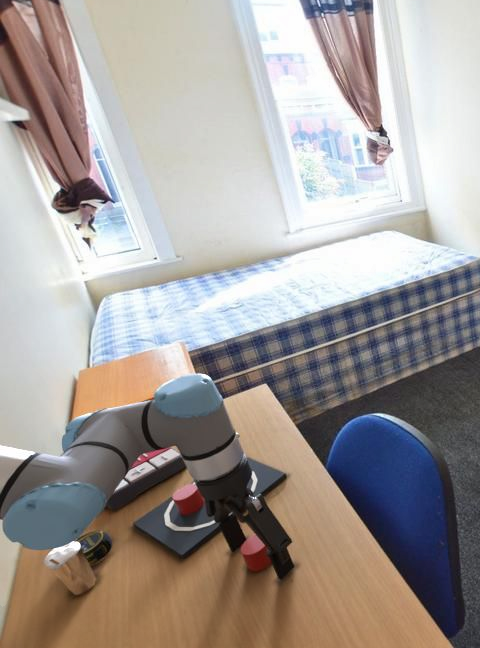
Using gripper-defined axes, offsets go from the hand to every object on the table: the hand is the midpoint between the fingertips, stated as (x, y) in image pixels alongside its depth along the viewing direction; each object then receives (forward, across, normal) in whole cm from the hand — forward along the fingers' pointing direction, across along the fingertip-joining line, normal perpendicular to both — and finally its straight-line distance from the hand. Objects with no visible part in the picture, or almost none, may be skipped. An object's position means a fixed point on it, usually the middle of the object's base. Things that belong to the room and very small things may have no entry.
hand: (262, 558), depth 83 cm
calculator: (0, +46, -2) cm, 46 cm away
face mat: (0, +23, -5) cm, 24 cm away
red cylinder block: (-1, +24, -2) cm, 25 cm away
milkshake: (0, +25, +17) cm, 30 cm away
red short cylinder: (0, 0, 0) cm, 0 cm away
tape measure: (0, +31, +14) cm, 34 cm away
